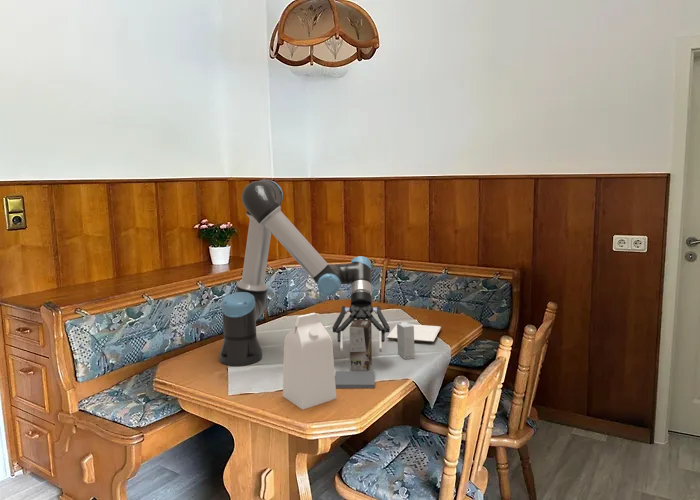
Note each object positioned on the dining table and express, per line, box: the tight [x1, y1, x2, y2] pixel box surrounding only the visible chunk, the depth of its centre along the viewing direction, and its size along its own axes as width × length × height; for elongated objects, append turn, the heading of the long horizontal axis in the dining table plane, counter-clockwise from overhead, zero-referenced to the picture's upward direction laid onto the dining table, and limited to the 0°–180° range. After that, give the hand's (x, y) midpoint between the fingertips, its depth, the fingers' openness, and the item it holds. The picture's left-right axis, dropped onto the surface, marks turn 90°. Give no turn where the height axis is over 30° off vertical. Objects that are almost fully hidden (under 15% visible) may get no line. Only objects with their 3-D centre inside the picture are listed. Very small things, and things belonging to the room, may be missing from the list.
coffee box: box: [349, 319, 373, 371], centre depth 188 cm, size 9×6×16 cm
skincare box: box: [396, 321, 416, 360], centre depth 198 cm, size 6×4×12 cm
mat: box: [335, 370, 376, 389], centre depth 178 cm, size 11×13×1 cm
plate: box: [386, 323, 442, 344], centre depth 221 cm, size 19×19×2 cm
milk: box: [282, 312, 337, 410], centre depth 164 cm, size 12×12×26 cm
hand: (361, 350), depth 185 cm, fingers open, 12 cm apart
